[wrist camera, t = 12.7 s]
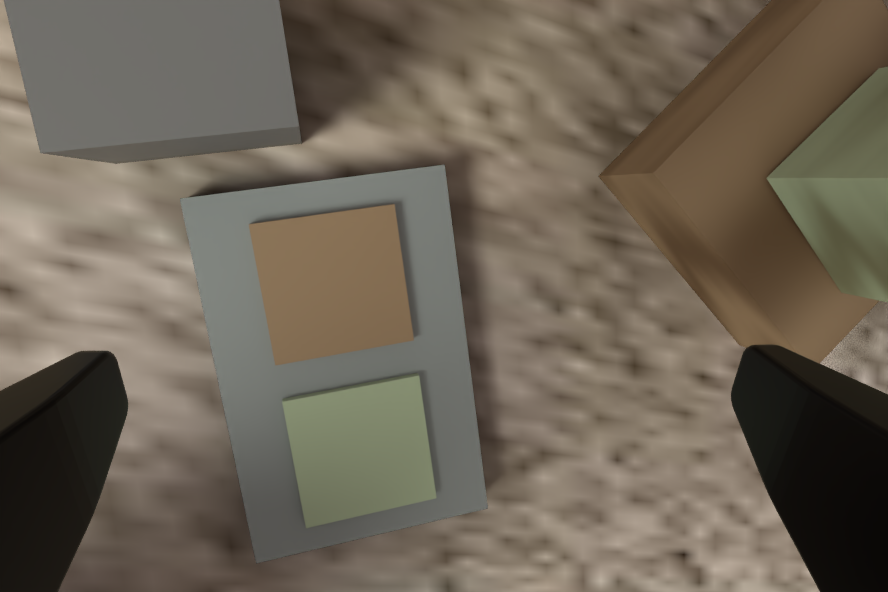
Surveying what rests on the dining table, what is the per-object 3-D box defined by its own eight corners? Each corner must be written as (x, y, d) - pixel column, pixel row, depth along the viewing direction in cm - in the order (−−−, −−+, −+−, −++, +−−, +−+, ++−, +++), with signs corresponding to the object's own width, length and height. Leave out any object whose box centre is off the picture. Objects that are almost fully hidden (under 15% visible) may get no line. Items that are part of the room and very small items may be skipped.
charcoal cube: (301, 143, 20) (299, 126, 14) (116, 163, 19) (40, 153, 13) (271, -44, 19) (257, -137, 13) (73, -33, 18) (-28, -130, 12)
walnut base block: (887, 183, 25) (993, 181, 21) (733, 343, 25) (812, 370, 21) (765, 2, 23) (859, -37, 19) (593, 176, 22) (653, 173, 18)
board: (480, 494, 23) (490, 512, 22) (258, 546, 21) (255, 569, 20) (438, 165, 21) (446, 164, 19) (186, 198, 19) (178, 198, 18)
